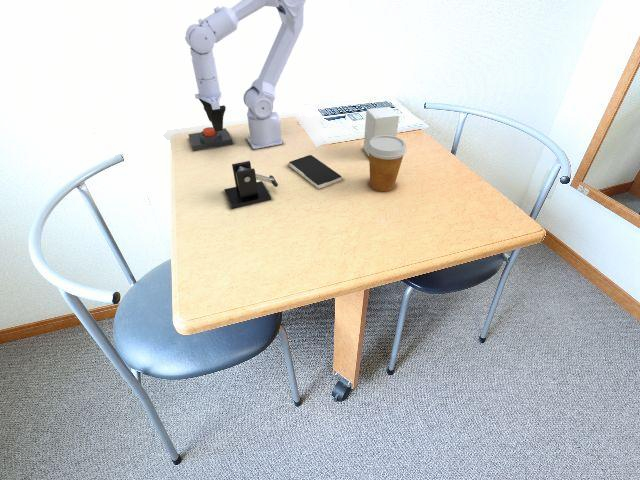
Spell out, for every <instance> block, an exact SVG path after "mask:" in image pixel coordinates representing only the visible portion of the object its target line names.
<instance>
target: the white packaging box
mask: <svg viewBox="0 0 640 480" xmlns="http://www.w3.org/2000/svg"><path fill="white" fill-rule="evenodd" d="M399 120H400V115H399V114H398V113H397V112H396V111H395V110H394V109H393V108H392V107H391V106H385V107H384V106H383V107H373V108H366V111H365V125H364V138H363V151H364V152H365V153H366V155H367V157H369V151H368V149H367V146H368V144H369V142H370V140H371V139H372V138H374V137H376V136H382V135H388V136H395V137H398V135H397V134H398V128H399V127H398V126H399Z"/></svg>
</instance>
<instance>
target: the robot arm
mask: <svg viewBox="0 0 640 480" xmlns="http://www.w3.org/2000/svg"><path fill="white" fill-rule="evenodd" d="M306 1H307V0H240V1H238V2H237V3H236V4H234V5H233V6H232V7H230V8H229V7H226V6H221V7H220V6H216V7H214V8H213V11H214V12H213V13H211V14H209V15H208V16H206V17H204V19H202V18H199V19H198V20H197V22H198V23H199V24H198V23H196V24H195V23H193V24H190V25H189V26H188V27H187V29H186V31H185V37H184V39H185V42H186V44H187V45H188V46H189V50H190V56H191V62H192V67H193V68H192V69H193V72H194V77H195V81H196V82H195V83H196V86H197V90H198V93H195V94H194V98H195V100H199V102H200V103H201V105H202V106H203V110H204V112H205V113H206V116H207V119H208V121H209V122H210V123H211V125H212V127H213V128H214V130H215V132H217V131H222V130H223V129H224V117H225V112H226V110H227V107H226V105H225V104H224V105H221V104H220V100H221V98H222V91H221V88H220V83H219V77H218V76H219V75H218V71H217V66H216V59H215V57H214V51H213V49H214V46H215V44H217V43H219V42H221V41H223V39H224V38H226V37H228V36H230V35H231V34H233V33H234V32H235V31H237V29H238V26H239V23H240V21H242V20H244V19H246V18H247V17H249V16H252V14H254V13H256V12H258V11H259V10H260V9H262V8H264V7H272V8H276V10H277V13H278V15H279V18H280V21H281V24H280V26H279V29H278V32H277V34H276V36H275V38H274V41H273V43H272V46H271V48H270V50H269V53H268V55H267V57H266V60H265V62H264V64H263V66H262V68H261V70H260V73H259V75H258V77H257V78H256V79H254V81H253V82H251V85H250V87H249V88H248V89H247V90H246V91H245V92H244V94H243V98H242V99H243V103H244V105H245V106H246V107H247V108H248V109H247V113H246V116H247V123H248V130H249V131H248V132H249V136H248V137H247V138H246V140H247V142H248V143H249V145H250V146H251V148H252V150H258V149H263V148H268V147H274V146H279V145H282V144H283V141H282V139H283V138H282V128H281V119H280V116H279V114H278V112H276V111H274V102H275V99H276V86H277V84H278V82H279V80H280V78H281V76H282V74H283V71H284V69H285V67H286V65H287V62H288V60H289V58H290V56H291V54H292V51H293V49H294V47H295V45H296V43H297V40H298V38H299V37H300V34H301V32H302V30H303V28H304V8H305V7H304V6H305V4H306Z"/></svg>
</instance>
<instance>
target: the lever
mask: <svg viewBox="0 0 640 480" xmlns="http://www.w3.org/2000/svg"><path fill="white" fill-rule="evenodd" d="M248 169H249V168H245V167H241V166H239V169H238V171H243V170H248ZM238 171H237V172H238ZM255 175H256V181H262V182H266V183H269V184H272V185H273V187H274V188H278V186H279V183H278V182H277V180H276V179H275V177H274V176H273V175H271V174H269V176H265V175H262V174H258V173H255Z"/></svg>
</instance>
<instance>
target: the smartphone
mask: <svg viewBox="0 0 640 480" xmlns="http://www.w3.org/2000/svg"><path fill="white" fill-rule="evenodd" d="M288 166H289V167H290V168H291V169H292V170H293V171H295V172H296V173H298V174H299V175H300V176H301V177H303V178H304V179H305V180H307V181H308V182H309V183H310V184H311V185H313V186H314V187H315V188H316V189H323V188H325V187H327V186H330V185H333V184H335V183H338V182H340V181H342V175H341V174H339V173H338V172H336V171H335V170H334V169H332V168H330V167H329V166H328V165H326V164H325V163H323V162H322V161H321V160H319V159H318V158H316V157H315V156H313V155H311V154H308V155H305V156H302V157H299V158H297V159H294V160H293V159H292V160H291V161H289V162H288Z"/></svg>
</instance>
